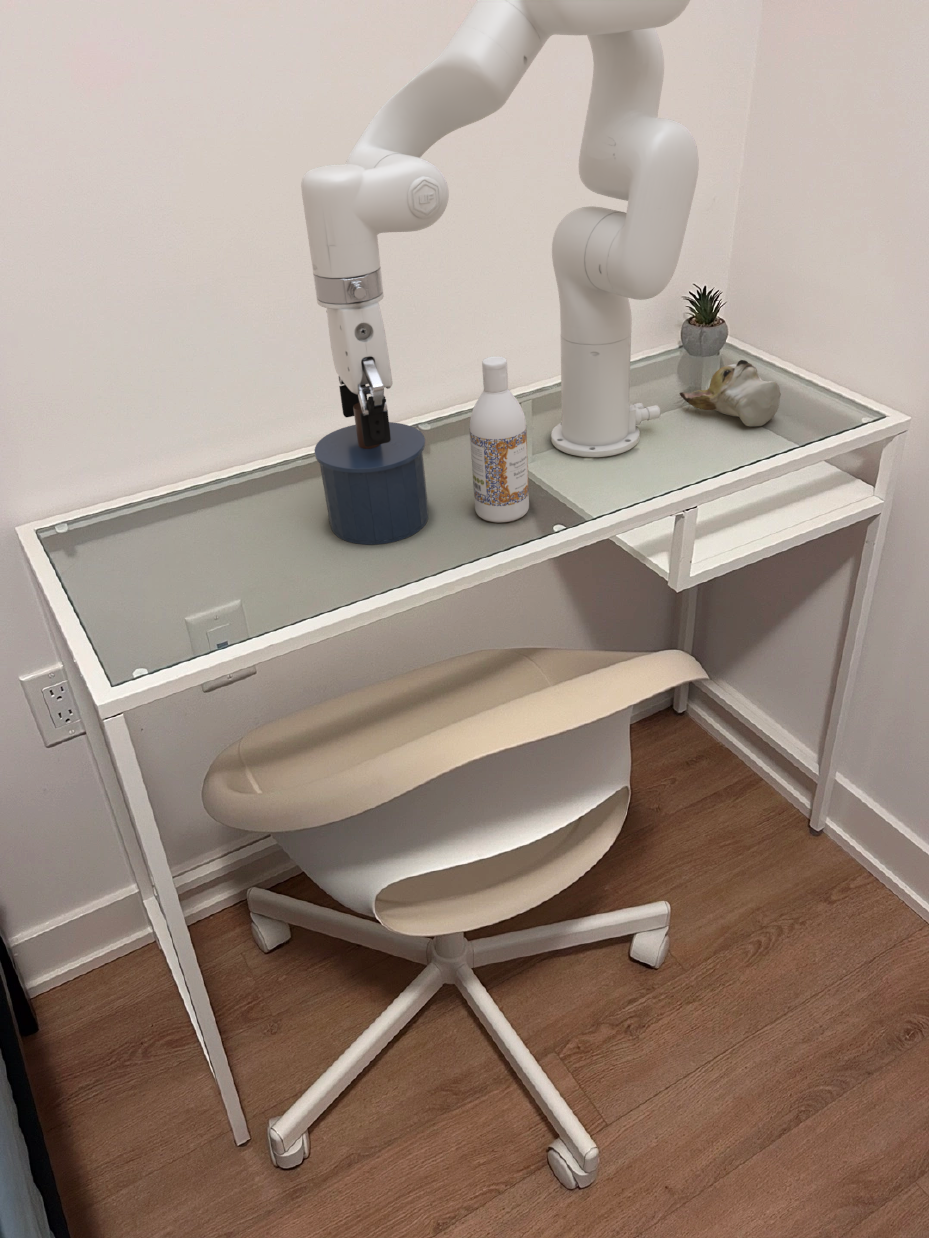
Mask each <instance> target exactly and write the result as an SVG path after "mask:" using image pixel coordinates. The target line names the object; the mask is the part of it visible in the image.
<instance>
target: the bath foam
mask: <svg viewBox="0 0 929 1238" xmlns="http://www.w3.org/2000/svg"><path fill="white" fill-rule="evenodd" d="M481 369H482V383H483V385H482V386H483V390H482V392H481V393H480V395H479V397H478V399H477V401H476V402H475V404H474V407H473V409H472V411H471V414H470V419H469V443H470V456H471V457H470V458H471V471H472V485H473V486H472V487H473V496H474V497H473V498H474V499H473V500H474V510H475V513H476V515H477V516H478V517H479V518H480V519H482V520H484V521H487V522H490V523H509V522H515V521H517V520H519V519H521V518H523V517H524V516H525V515H526V514H527V513H528V512H529V509H530V497H529V496H530V489H529V488H530V487H529V486H530V485H529V461H528V460H529V458H528V457H529V456H528V430H527V427H528V426H527V421H526V416H525V413H524V410H523V408H522V406H521V403H519V401H518V399H517V398H516V397H515V396H514V394H513V393H512V391H511V390H510V389H509V378H508V377H509V376H508V359H507V358H505V357H503V356H500V355H499V356H497V355H496V356H495V355H494V356H488V357H485V358H484V359H482V361H481Z"/></svg>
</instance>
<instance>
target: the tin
mask: <svg viewBox="0 0 929 1238" xmlns="http://www.w3.org/2000/svg"><path fill="white" fill-rule="evenodd" d="M423 452H424V450H423V451H422V453H421V454H420V455H419V456H418V457H416V458H415V459H413V460H412V461H410V462H408V463H406V464H404V465H401V466H398V467H395V468H392V469H388V470H383V471H378V472H369V473H348V472H340V471H335V470H332V469H329V468H327V467H325V466H323V465H321V464H320V463H319V466H320V473H321V479H322V485H323V486H322V487H323V491H324V497H325V504H326V509H327V516H328V522H329V525H330V529H331V531H332V533H333V534H334V535H335V536H336V537H338V538H339V539H341V540H343V541H345V542H348V543H352V544H357V545H369V546H373V545H374V546H375V545H384V544H389V543H395V542H399V541H402V540H404V539H407V538H409V537H411V536H413V535H415V534H417V533H419V531H421V530H422V529H423V528H424V527H425V526H426V524H427V523H428V520H429V504H428V492H427V482H426V481H427V480H426V473H425V462H424V461H425V460H424V454H423Z"/></svg>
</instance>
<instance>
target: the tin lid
mask: <svg viewBox="0 0 929 1238" xmlns="http://www.w3.org/2000/svg"><path fill="white" fill-rule="evenodd" d="M366 402H367V401H366ZM353 410H354V416H353V417H354V424H352V425H349V426H348V425H347V426H345V427H342V428H338V429H336V430H334V431H331V432H329V433H328V434H326V435H325V436H323V437H322V438H321V439H319V440H318V442H317V443H316V445H315V446H314V458H315V460H316V461H317V462H318V463H319V465H320V464H321V465H323V466H325V467H327V468H329V469H332V470H335V471H340V472H348V473H369V472H378V471H383V470H388V469H392V468H395V467H398V466H401V465H404V464H406V463H408V462H410V461H412V460H413V459H415V458H416V457H418V456H419V455H420V454H421V453H422V451H423V452H424V450H425V448H426V438H425V435H424V434H423V433H422V431H420V429H418V428H416V427H413V426H412V425H408V424H405V423H399V422H391V421H389V428H390V437H391V440H390V442H388V443H383V444H379V445H374V446H369V447H367V446H365V445H364V443H363V435H362V427H361V419H360V413H363V412H362V409H361V405H360V402H359V403H357V404H355V405H354V406H353Z"/></svg>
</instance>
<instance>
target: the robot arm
mask: <svg viewBox="0 0 929 1238" xmlns="http://www.w3.org/2000/svg"><path fill="white" fill-rule="evenodd" d="M690 1H691V0H476V1H475V2H474V4H473V5H472V7H471V9H470V10H469V12H467V14H466V16H465V18H464V19H463V21H462V22H461V24H460V26H458V28H457V29H456V31H455V33H454V34H453V35H452V37H451V39H450V40H449V41H448V43H447V45H446V46H445V48H444V49H443V50H442V51H441V53H440V54H439V55H438V56H437V57H436V58H435V59H434V60H433V61H431V62H430V63H429V64H427V65H426V66H425V67H424V68H422V69H421V70H419V72H418V73H417V74H416V75H415V76H413V78H411V79H410V80H409V81H408V82H407V83H405V85H403V86H402V87H401V88H400V89H399V90H397V91H396V92H395V93H394V94H393V95H392V96H391V97H390V98H389V99H387V101H386V102H384V104H383V105H381V107H380V108H379V110H378V111H377V112H376V113H375V114H374V116H373V117H372V118H371V120H370V121H369V123H368V124H367V126H366V128H365V129H364V131H363V132H362V133H361V135H360V137H359V138H358V140H357V141H356V143H355V144H354V146H353V147H352V149H351V151H350V152H349V155H348V157H347V159H346V160H345V161H346V162H345V163H340V164H339V163H338V164H327V165H322V166H316V167H314V168H311V169H310V170H308V171H306V172H305V173H304V174H303V177H302V178H301V183H300V187H301V188H300V189H301V197H302V204H303V210H304V211H303V212H304V218H305V225H306V231H307V238H308V246H309V252H310V260H311V267H312V274H313V282H314V288H315V289H314V290H315V296H316V303H317V304H318V306H320V307H323V308H326V316H327V325H328V335H329V342H330V349H331V356H332V362H333V366H334V369H335V371H336V374H337V375H338V376H337V377H338V383H339V386H338V387H339V395H340V401H341V409H342V410H341V411H342V415H343V416H344V417H345V418H351V417H354V410H353V406H354V405H355V404H357V403H359V402H360V405H361V409H362V412H363V413H360V419H361V427H362V435H363V443H364V445H365V446H367V447H369V446H374V445H379V444H383V443H388V442H390V440H391V437H390V428H389V422H390V421H389V420H390V419H389V411H388V410H389V409H388V405H387V399H386V396H385V389H387V390H389V389H391V388H392V386H393V376H392V369H391V363H390V355H389V349H388V342H387V336H386V330H385V324H384V321H383V320H384V319H383V315H382V311H381V308H380V304H379V302H381V301H382V300H383V299H384V297H385V296H384V295H385V294H384V286H383V277H382V268H381V259H380V248H379V239H378V235H379V234H384V233H385V234H386V233H410V232H418V231H421V230H425V229H428V228H429V227H431V226H433V225H434V224H435V223H437V222H438V221H439V219H441V217H442V216H443V214H444V213H445V211H446V209H447V207H448V204H449V203H448V202H449V197H450V192H449V186H448V185H449V184H448V182H447V180H446V179H447V178H445V175H444V173H442V171H441V170H440V169H439V168H438V166H436V165H435V164H434V163H432V162H430V161H429V160H426V159H424V158H422V156H423V155H424V154H425V153H426V152H427V151H428V150H429V149H430V148H431V147H432V146H433V145H435V144H436V143H438V142H439V140H440V141H441V139H443V138H444V137H445V136H448V135H449V134H451V133H453V132H455V131H457V130H458V129H461V128H464V127H466V126H468V125H469V126H470V125H471V124H472V125H473V124H474V123H476V122H479V121H481V120H483V119H485V118H487V117H489V116H491V115H492V114H494V113H496V112H498V111H499V110H500V109H502V108H503V107H504V106H505V104H506V103H507V101H508V100H509V98H510V97H511V95H512V94H513V93H514V91H515V89H516V88H517V87H518V84H519V83H520V82H521V80H522V79H523V77H524V75H525V74H526V72H527V71H528V70H529V68H530V67H531V65H532V63H533V61H535V59H536V57H537V55H539V53H540V52H541V50H542V49H543V47H544V46H545V44H546V43H547V41H548V40H549V39H550V38H551V37H552V36H587V39H588V42H589V45H590V50H591V53H592V61H593V69H592V79H591V87H590V95H589V100H588V105H587V110H586V116H585V121H584V127H583V131H582V132H583V133H582V139H581V143H580V148H579V149H580V150H579V156H578V175H579V178H580V181H581V182H582V184H583V185H584V187H585V188H586V189H588V190H589V191H591V192H593V193H595V194H598V195H601V196H604V197H608V198H612V199H616V200H621V201H625V202H627V207H626V212H624V211H621V210H616V209H612V208H607V207H602V206H583V207H579V208H576V209H574V210H572V211H570V212H568V213H567V214H566V215H564V216H563V218H561V220H560V221H559V223H558V224H557V226H556V228H555V231H554V234H553V237H552V243H551V258H552V260H551V261H552V265H553V271H554V275H555V281H556V286H557V291H558V299H559V300H558V301H559V317H560V319H559V321H560V389H561V391H560V393H561V395H560V396H561V401H560V403H561V404H560V405H561V422H559V423H558V424H557V425H555V426H554V427H553V428H552V429H551V432H550V442H551V444H552V445H553V446H554V447H555V448H556V449H557V450H559V451H561V452H563V453H565V454H568V455H571V456H575V457H576V456H577V457H583V458H607V457H611V456H617V455H620V454H623V453H625V452H628V451H630V450H631V449H633V448H635V447H636V446H637V444H638V443H639V442H640V429H639V428H638V426H639V425H641V423H642V422H644V421H652V420H656V419H659V418H660V417H661V409H660V407H659V405H658V404H654V405H650V406H649V405H648V406H644V404H643V402H637V403H633V404H630V395H631V394H630V392H631V391H630V390H631V359H632V358H631V356H632V354H631V353H632V351H631V350H632V326H633V325H632V323H633V322H632V309H631V303H630V300H629V299H631V300H632V299H633V300H638V301H642V300H643V301H644V300H645V301H646V300H649V299H653V298H655V297H656V296H658V295H659V294H661V293H662V292H663V291H664V290H665V289H666V288H667V286H668V285H669V283H670V282H671V280H672V278H673V276H674V274H675V271H676V270H677V266H678V263H679V259H680V255H681V252H682V247H683V243H684V239H685V234H686V231H687V226H688V221H689V218H690V214H691V213H690V212H691V210H692V206H693V205H692V204H693V200H694V196H695V191H696V187H697V180H698V175H699V168H700V167H699V150H698V146H697V143H696V140H695V137H694V135H693V134H692V132H691V130H689V129H688V127H686V126H685V125H684V124H683V123H681V122H679V121H676V120H674V119H670V118H665V117H658V116H659V108H660V102H661V98H662V97H661V96H662V90H663V83H664V78H665V58H664V51H663V47H662V43H661V39H660V37H659V34H658V31H657V29H656V28H660V27H664V26H667V25H669V24H670V23H672V22H674V21H675V20H676V19H677V18H679V17H680V16H681V15H682V14H683V12H684V11H685V10H686V8H687V7H688V6H689V4H690ZM368 395H370V396H368ZM366 401H367V402H366Z"/></svg>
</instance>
